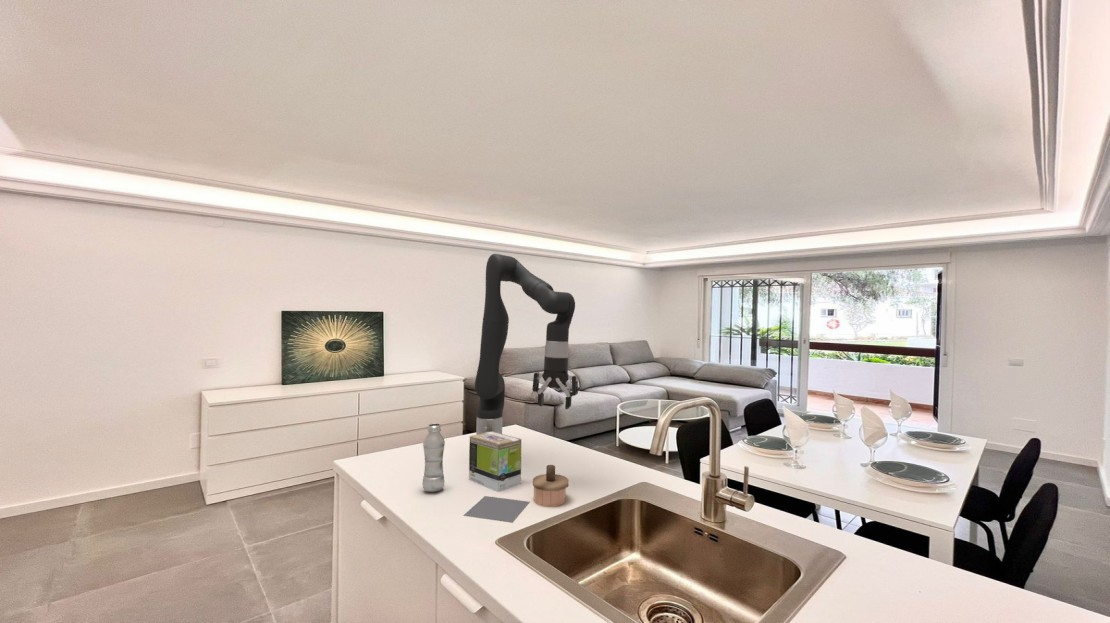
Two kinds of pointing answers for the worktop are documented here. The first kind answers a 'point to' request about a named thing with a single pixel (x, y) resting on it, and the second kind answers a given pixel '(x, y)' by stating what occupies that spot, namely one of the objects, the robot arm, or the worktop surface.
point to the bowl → (549, 497)
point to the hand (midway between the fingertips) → (554, 407)
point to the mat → (497, 509)
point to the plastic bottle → (433, 459)
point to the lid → (550, 480)
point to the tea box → (495, 460)
